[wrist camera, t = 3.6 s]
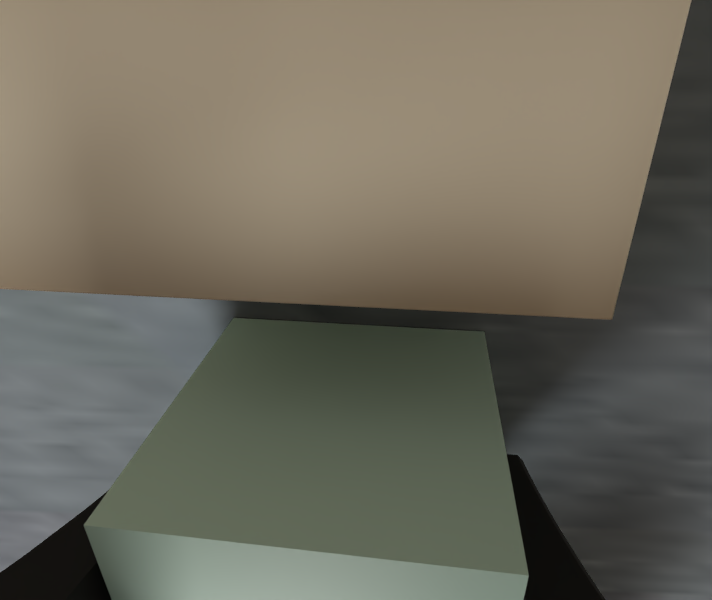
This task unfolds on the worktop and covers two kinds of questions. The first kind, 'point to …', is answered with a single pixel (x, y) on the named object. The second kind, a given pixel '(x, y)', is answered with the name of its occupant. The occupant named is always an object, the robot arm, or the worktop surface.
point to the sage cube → (320, 474)
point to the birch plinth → (332, 149)
